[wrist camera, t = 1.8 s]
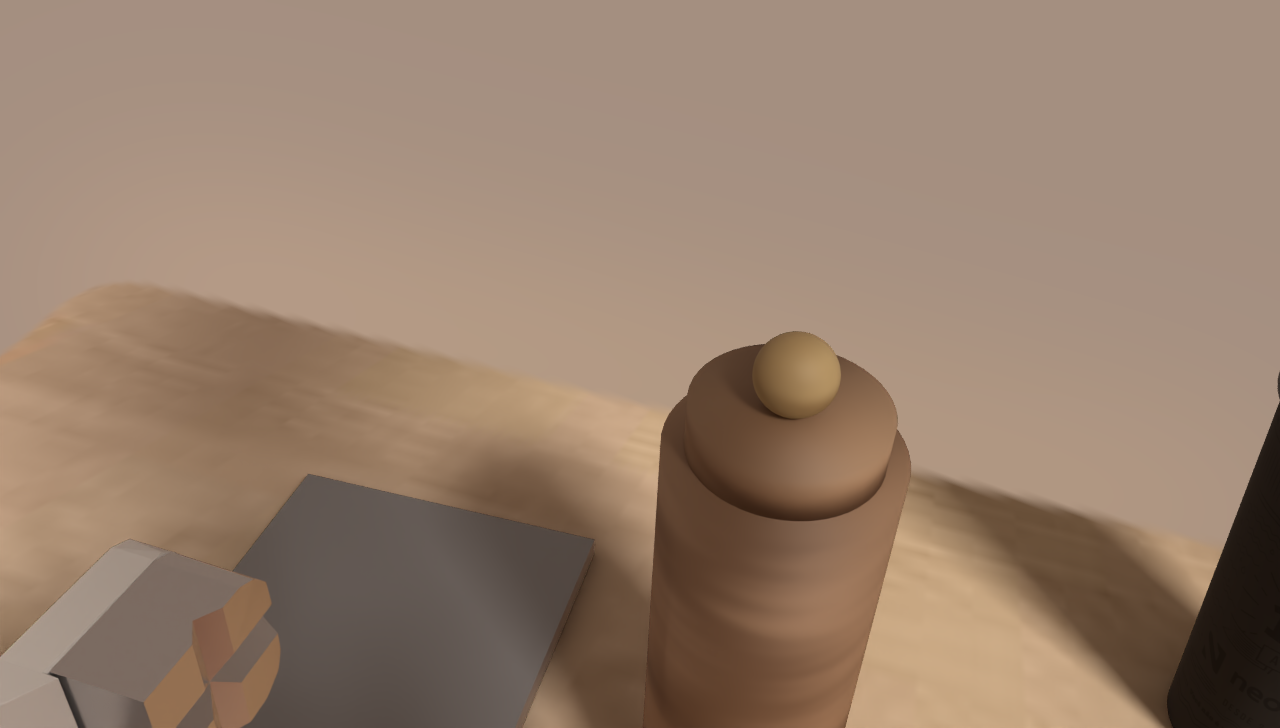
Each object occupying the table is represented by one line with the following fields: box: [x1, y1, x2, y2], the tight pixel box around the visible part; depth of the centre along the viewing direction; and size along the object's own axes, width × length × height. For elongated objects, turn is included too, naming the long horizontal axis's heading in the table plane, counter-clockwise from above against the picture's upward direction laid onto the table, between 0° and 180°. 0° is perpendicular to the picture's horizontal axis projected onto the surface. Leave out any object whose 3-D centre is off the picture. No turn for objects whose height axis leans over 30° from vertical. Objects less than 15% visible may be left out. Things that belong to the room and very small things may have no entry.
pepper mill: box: [643, 331, 911, 728], centre depth 26 cm, size 5×5×18 cm
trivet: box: [233, 474, 594, 728], centre depth 36 cm, size 12×12×1 cm
